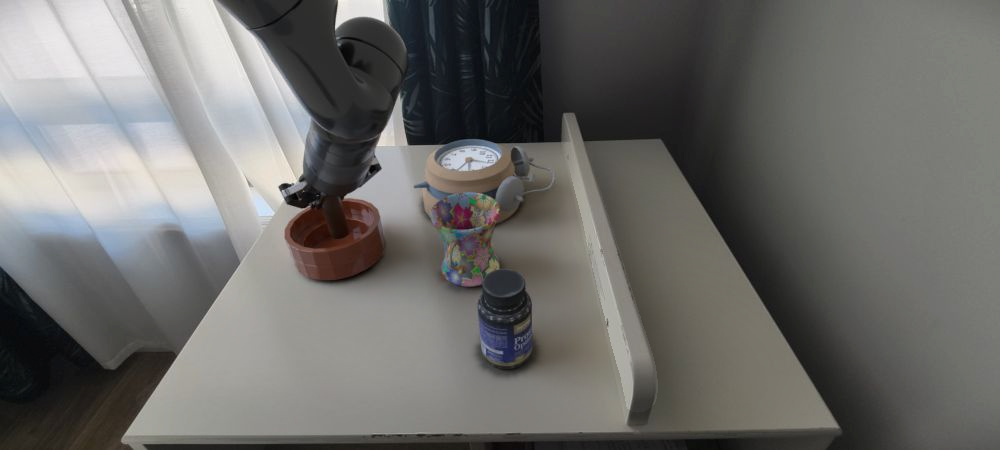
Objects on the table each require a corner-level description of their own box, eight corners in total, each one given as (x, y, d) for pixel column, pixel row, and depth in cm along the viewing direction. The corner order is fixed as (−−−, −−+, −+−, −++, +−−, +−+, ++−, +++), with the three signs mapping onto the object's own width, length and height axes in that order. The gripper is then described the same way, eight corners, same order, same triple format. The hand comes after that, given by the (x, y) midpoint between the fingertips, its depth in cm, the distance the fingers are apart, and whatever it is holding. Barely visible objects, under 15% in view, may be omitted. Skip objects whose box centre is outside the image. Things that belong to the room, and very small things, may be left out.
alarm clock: (432, 130, 89) (559, 135, 86) (438, 174, 95) (558, 181, 91) (401, 177, 76) (550, 185, 72) (410, 225, 81) (549, 235, 77)
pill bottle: (524, 376, 56) (522, 307, 49) (474, 364, 58) (466, 296, 51) (538, 337, 61) (538, 269, 54) (491, 326, 62) (486, 259, 56)
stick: (335, 241, 72) (313, 170, 65) (327, 233, 74) (305, 162, 67) (352, 234, 74) (333, 163, 67) (345, 226, 75) (325, 156, 68)
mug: (451, 247, 76) (444, 189, 70) (509, 255, 74) (507, 195, 68) (422, 301, 67) (411, 239, 60) (488, 311, 64) (483, 248, 58)
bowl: (315, 298, 68) (303, 265, 64) (284, 251, 77) (272, 220, 73) (402, 257, 74) (395, 225, 71) (363, 219, 83) (356, 188, 80)
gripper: (379, 109, 61) (358, 161, 76) (263, 144, 54) (266, 194, 69) (406, 162, 60) (380, 204, 75) (293, 204, 53) (290, 241, 69)
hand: (326, 199), depth 72 cm, fingers closed on stick, 3 cm apart
